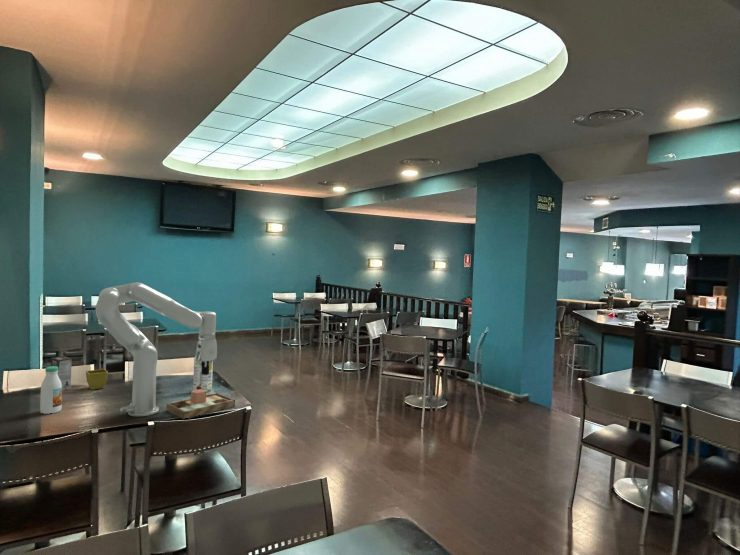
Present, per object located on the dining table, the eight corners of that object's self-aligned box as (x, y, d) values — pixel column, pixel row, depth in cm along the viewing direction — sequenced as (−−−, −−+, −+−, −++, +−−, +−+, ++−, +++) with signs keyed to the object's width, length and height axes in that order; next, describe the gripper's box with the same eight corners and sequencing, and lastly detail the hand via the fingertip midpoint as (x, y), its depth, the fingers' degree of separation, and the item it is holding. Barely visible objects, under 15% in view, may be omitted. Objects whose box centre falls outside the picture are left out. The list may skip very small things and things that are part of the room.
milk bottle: (44, 415, 192) (45, 370, 191) (37, 411, 196) (37, 367, 195) (64, 411, 199) (65, 367, 198) (56, 407, 203) (57, 364, 202)
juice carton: (205, 393, 232) (206, 357, 232) (191, 392, 234) (192, 356, 234) (213, 389, 240) (214, 355, 239) (199, 388, 242) (200, 353, 241)
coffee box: (49, 388, 231) (50, 357, 230) (63, 385, 236) (64, 355, 235) (57, 391, 226) (58, 360, 225) (71, 388, 231) (72, 358, 231)
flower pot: (85, 387, 234) (85, 370, 234) (104, 384, 240) (104, 368, 240) (88, 391, 228) (88, 374, 228) (107, 388, 234) (108, 371, 233)
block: (196, 403, 208) (196, 393, 208) (190, 401, 211) (190, 391, 211) (206, 401, 212) (206, 391, 212) (200, 399, 215) (200, 389, 215)
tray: (183, 419, 194) (184, 412, 194) (166, 410, 205) (166, 403, 204) (235, 406, 215) (235, 399, 215) (216, 398, 225) (216, 392, 225)
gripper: (201, 339, 207) (199, 378, 207) (223, 335, 221) (221, 372, 221) (189, 338, 210) (187, 376, 210) (211, 334, 223) (209, 370, 224)
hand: (205, 374), depth 215 cm, fingers closed
